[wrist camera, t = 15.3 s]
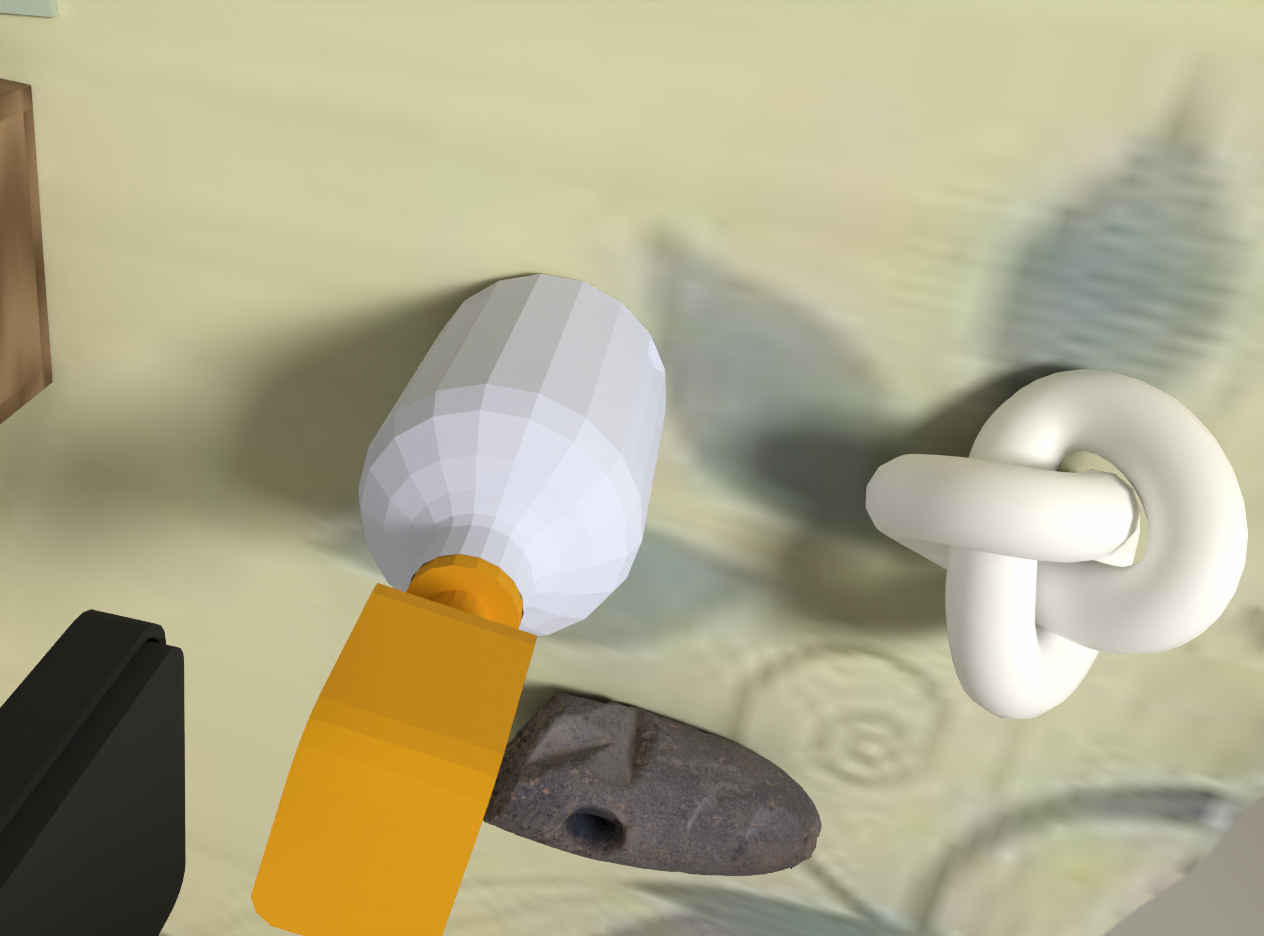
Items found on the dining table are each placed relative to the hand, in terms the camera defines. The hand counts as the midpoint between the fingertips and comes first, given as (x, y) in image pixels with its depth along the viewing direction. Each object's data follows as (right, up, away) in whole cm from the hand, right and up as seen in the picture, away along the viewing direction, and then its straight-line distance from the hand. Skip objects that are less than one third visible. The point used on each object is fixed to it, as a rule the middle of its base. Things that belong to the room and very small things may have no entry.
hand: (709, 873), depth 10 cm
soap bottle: (-4, +7, +35) cm, 36 cm away
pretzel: (+15, +4, +35) cm, 38 cm away
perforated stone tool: (+1, -9, +44) cm, 45 cm away
